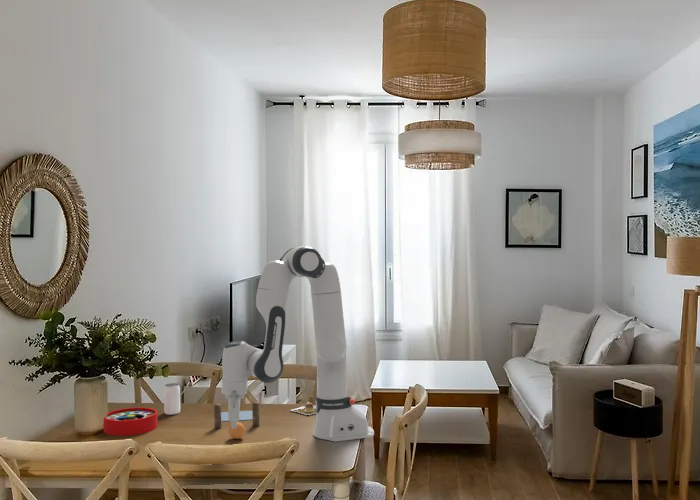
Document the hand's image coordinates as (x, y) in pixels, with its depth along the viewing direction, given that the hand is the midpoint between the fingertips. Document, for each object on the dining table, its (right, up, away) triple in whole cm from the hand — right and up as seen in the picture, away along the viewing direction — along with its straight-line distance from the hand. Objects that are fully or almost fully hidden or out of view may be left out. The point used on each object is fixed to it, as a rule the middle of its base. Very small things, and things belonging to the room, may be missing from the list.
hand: (234, 427), depth 238 cm
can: (-34, -7, +49) cm, 60 cm away
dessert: (+23, -7, +49) cm, 55 cm away
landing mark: (-6, -6, +43) cm, 44 cm away
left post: (-11, -7, +26) cm, 29 cm away
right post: (+4, -7, +28) cm, 29 cm away
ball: (-1, -4, +11) cm, 12 cm away
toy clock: (-45, -8, +27) cm, 53 cm away
